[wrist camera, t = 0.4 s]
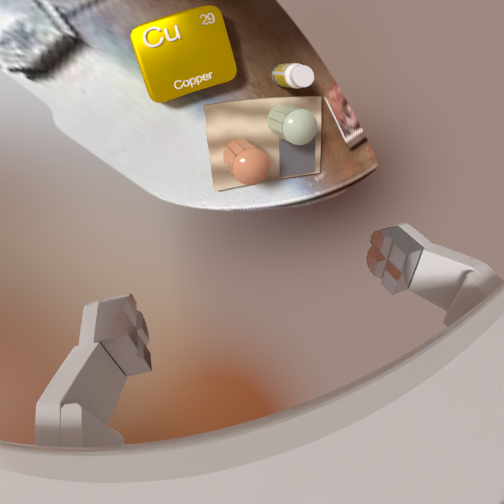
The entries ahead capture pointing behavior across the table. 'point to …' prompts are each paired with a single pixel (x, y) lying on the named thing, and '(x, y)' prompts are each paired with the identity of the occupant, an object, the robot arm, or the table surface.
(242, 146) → the terracotta cup
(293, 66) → the supplement bottle
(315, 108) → the birch board
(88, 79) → the table surface
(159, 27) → the element tile
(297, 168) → the charcoal mat
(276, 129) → the sage cup
